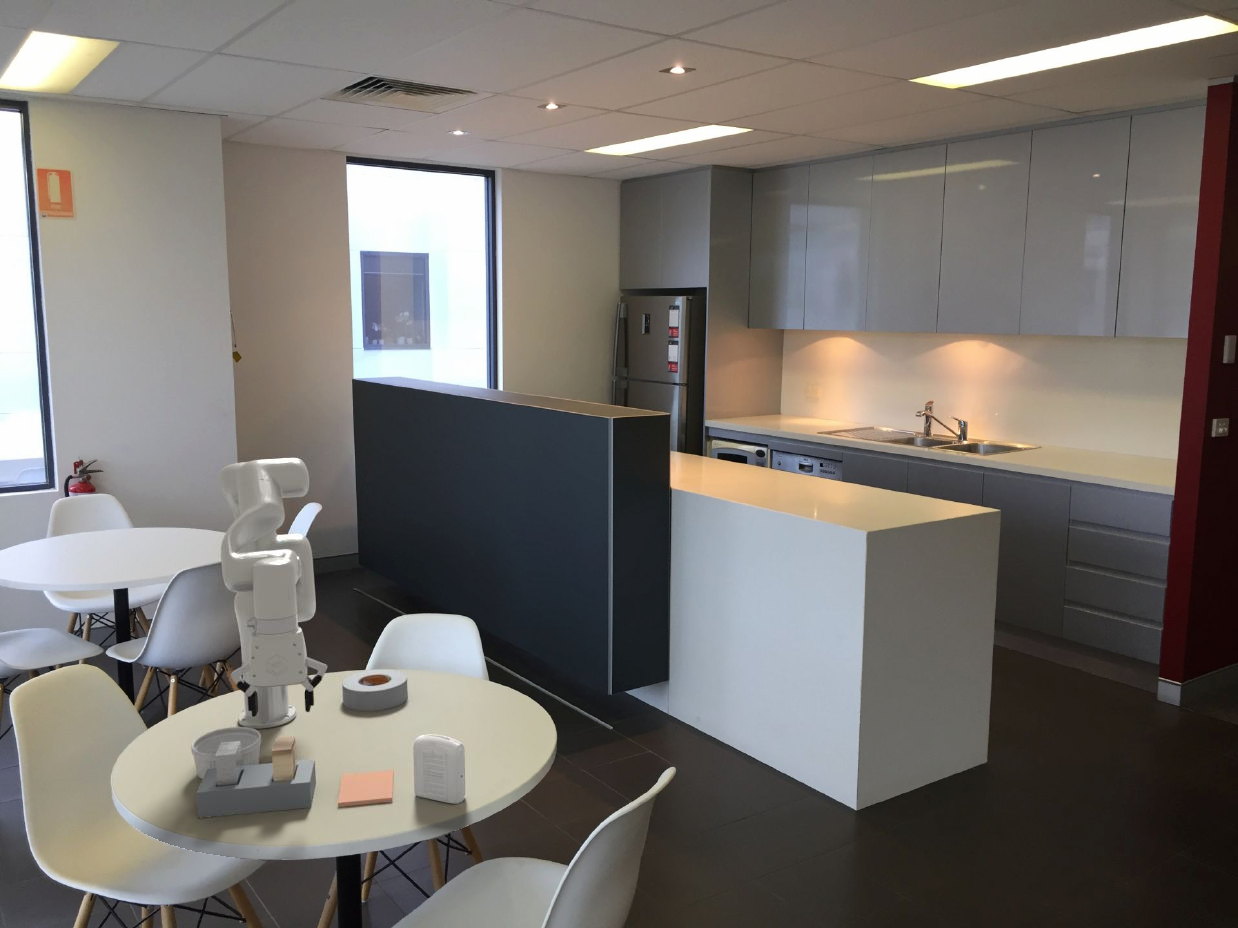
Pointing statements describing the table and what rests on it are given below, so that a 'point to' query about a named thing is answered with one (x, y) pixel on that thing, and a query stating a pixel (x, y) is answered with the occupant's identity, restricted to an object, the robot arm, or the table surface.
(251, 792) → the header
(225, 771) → the steel plug
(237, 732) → the ramekin
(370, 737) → the table surface
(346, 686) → the tape roll
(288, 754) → the beech plug
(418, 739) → the photo printer
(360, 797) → the mat
